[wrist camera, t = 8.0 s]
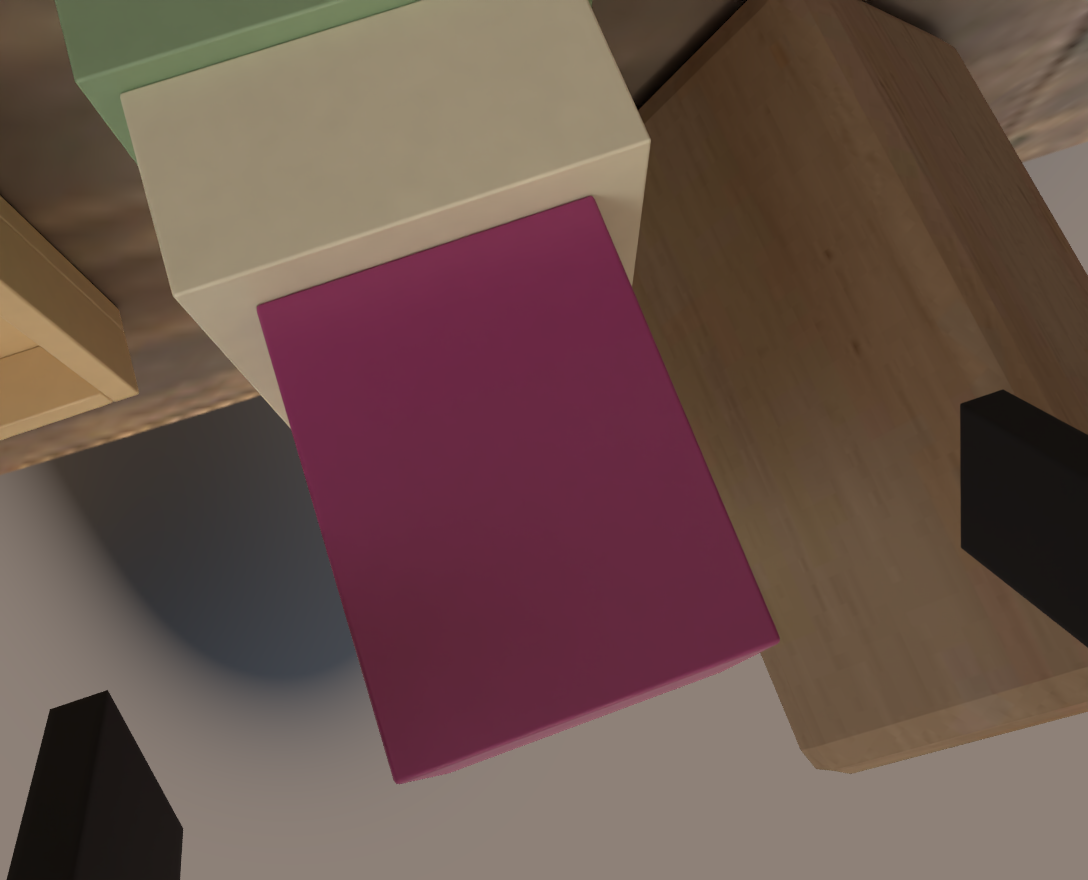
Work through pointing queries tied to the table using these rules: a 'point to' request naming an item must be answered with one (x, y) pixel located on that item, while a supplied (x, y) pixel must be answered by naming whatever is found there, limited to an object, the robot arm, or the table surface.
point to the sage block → (183, 39)
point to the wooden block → (861, 362)
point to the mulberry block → (508, 491)
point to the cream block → (379, 152)
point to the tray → (53, 335)
